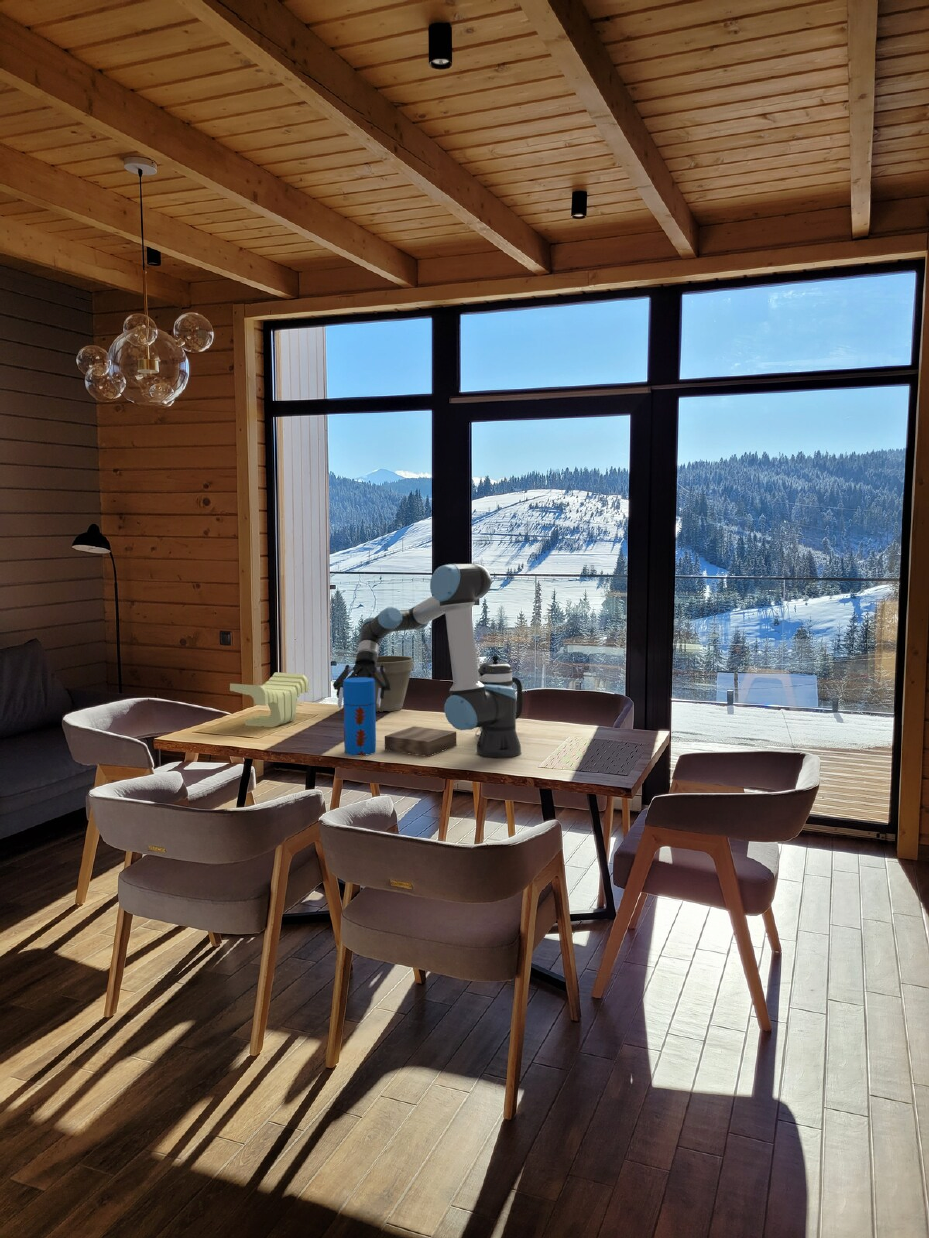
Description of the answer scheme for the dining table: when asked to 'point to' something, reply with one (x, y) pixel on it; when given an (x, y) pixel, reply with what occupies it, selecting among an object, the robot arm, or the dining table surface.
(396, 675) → the plant pot
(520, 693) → the coffee press
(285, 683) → the pale green ribbed part
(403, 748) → the block
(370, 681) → the thermos
